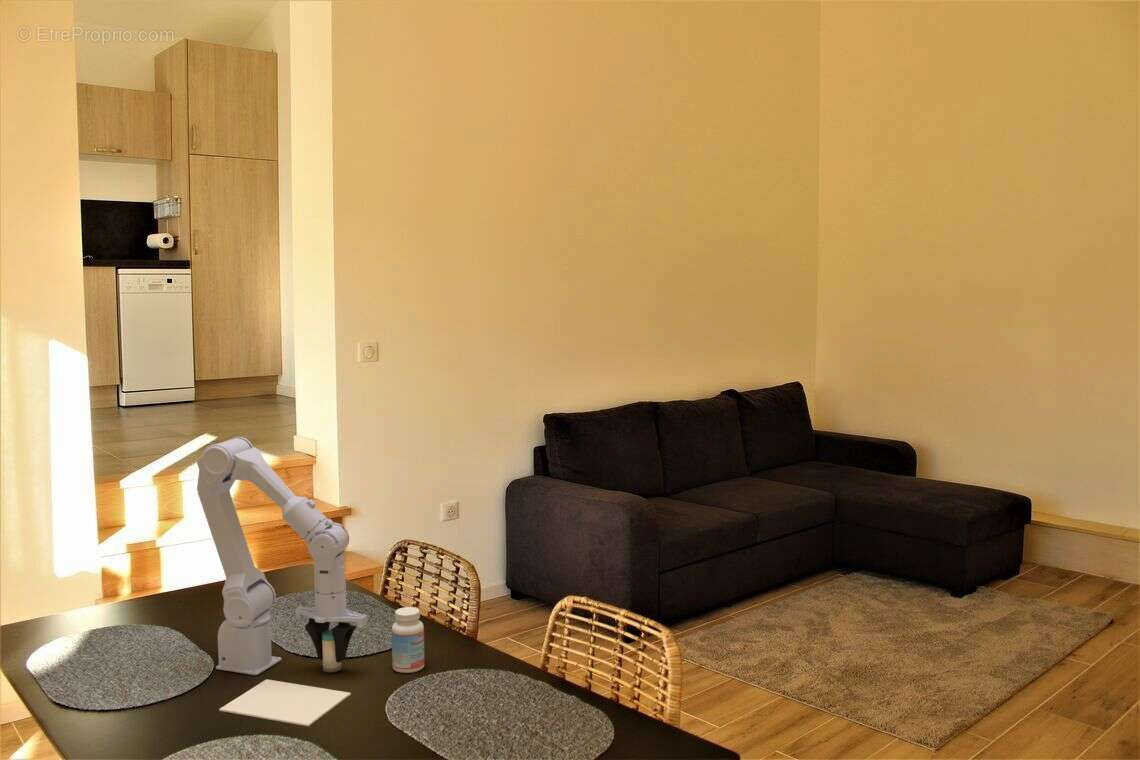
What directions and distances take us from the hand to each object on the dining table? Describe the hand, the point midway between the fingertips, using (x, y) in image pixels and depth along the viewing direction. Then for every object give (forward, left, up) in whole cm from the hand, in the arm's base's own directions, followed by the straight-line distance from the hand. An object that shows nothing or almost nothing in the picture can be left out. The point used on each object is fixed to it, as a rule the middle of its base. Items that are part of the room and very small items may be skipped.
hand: (331, 658), depth 180 cm
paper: (0, -14, -2) cm, 15 cm away
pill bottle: (+13, +6, -3) cm, 15 cm away
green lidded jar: (0, 0, -2) cm, 2 cm away
